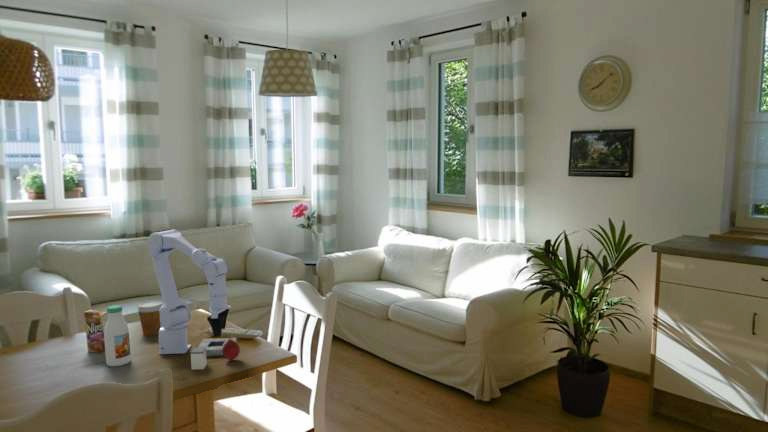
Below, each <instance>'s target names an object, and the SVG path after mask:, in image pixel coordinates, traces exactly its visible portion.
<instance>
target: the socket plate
mask: <svg viewBox="0 0 768 432" xmlns="http://www.w3.org/2000/svg"><path fill="white" fill-rule="evenodd" d="M229 338H231V339H232V340H233V341H235V342H236V343H237V337H223V338H222V337H220V338H219V337H217V338H216V337H215V338H202V341H201V342H200V343H199V344H198V346H197V347H196V348H206V358H207V357H208V358H212V357H213V358H215V357H224V355H223V353H222V349H223V346H224V345H225V343H226V342H228V340H229Z"/></svg>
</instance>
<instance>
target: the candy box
mask: <svg viewBox="0 0 768 432" xmlns="http://www.w3.org/2000/svg"><path fill="white" fill-rule="evenodd" d="M83 315H84V325H85V327H84V328H85V333H86V346H87V352H88V351H91V352H90V353H95V352H96V354H101V353H102V355H106V354H105V340H104V330H105V326H106V323H107V321H108V312H107V310H103V309H101V310H100V309H95V308H92V309H89V310H86V311H84V312H83Z"/></svg>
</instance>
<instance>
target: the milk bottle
mask: <svg viewBox="0 0 768 432" xmlns="http://www.w3.org/2000/svg"><path fill="white" fill-rule="evenodd" d="M106 309H107V310H106V311H107V312H108V321H107V323H106V326H105V330H104V340H105V354H104V355H105V362H106V365H107V366H109V367H120V366H124V365H127V364H129V363H130V362H131V359H132V358H131V343H130V332H129V331H130V330H129V327H128V324H127V321H126V320H125V319H124V316H123V306H122V305H120V304H113V305H110V306H107V308H106Z"/></svg>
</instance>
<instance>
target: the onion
mask: <svg viewBox="0 0 768 432" xmlns="http://www.w3.org/2000/svg"><path fill="white" fill-rule="evenodd" d="M228 338H229V340H228V342H226V343H225V345H224V346H223V349H222V353H223V355H224V356H223V357H224V358H226V360H228V361H230V362H231V361H234V360H235V359H236V358H237V357H238V356H239V354H240V353H241V351H240V349H241V348H240V346H239V345H238V343H237V341H236V342H235V341H233V340H232V339H231V338H232V337H228Z"/></svg>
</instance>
